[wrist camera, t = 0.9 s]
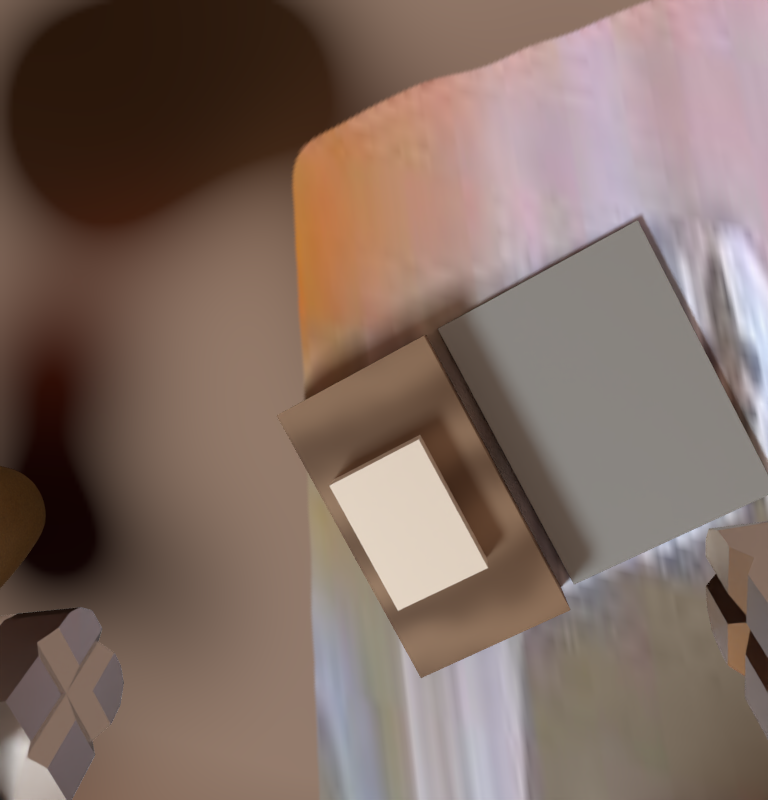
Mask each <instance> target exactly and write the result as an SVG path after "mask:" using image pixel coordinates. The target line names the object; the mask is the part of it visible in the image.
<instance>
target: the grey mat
mask: <svg viewBox="0 0 768 800" xmlns="http://www.w3.org/2000/svg"><path fill="white" fill-rule="evenodd" d="M438 330H439V332H440V334H441V336H442V338H443V340H444V342H445V343H446V345H447V347H448V349H449V351H450V353H451V355H452V357H453V358H454V360H455V362H456V364H457V366H458V368H459V370H460V372H461V373H462V375H463V377H464V379H465V381H466V383H467V385H468V387H469V388H470V390H471V392H472V394H473V396H474V398H475V400H476V402H477V403H478V405H479V407H480V409H481V411H482V413H483V415H484V417H485V418H486V420H487V422H488V424H489V426H490V428H491V430H492V432H493V433H494V435H495V437H496V439H497V441H498V443H499V445H500V447H501V448H502V450H503V452H504V454H505V456H506V458H507V460H508V462H509V463H510V465H511V467H512V469H513V471H514V473H515V475H516V477H517V478H518V480H519V482H520V484H521V486H522V488H523V490H524V492H525V493H526V495H527V497H528V499H529V501H530V503H531V505H532V507H533V508H534V510H535V512H536V514H537V516H538V518H539V520H540V522H541V523H542V525H543V527H544V529H545V531H546V533H547V535H548V537H549V538H550V540H551V542H552V544H553V546H554V548H555V550H556V552H557V553H558V555H559V557H560V559H561V561H562V563H563V565H564V567H565V569H566V570H567V572H568V574H569V576H570V578H571V580H572V582H573V584H576V583H578V582H581V581H583V580H585V579H587V578H589V577H591V576H594V575H596V574H598V573H600V572H602V571H604V570H607V569H609V568H611V567H613V566H615V565H617V564H620V563H622V562H624V561H626V560H628V559H630V558H633V557H635V556H637V555H639V554H641V553H643V552H646V551H648V550H650V549H652V548H654V547H656V546H659V545H661V544H663V543H665V542H667V541H669V540H672V539H674V538H676V537H678V536H680V535H682V534H685V533H687V532H689V531H691V530H693V529H695V528H698V527H700V526H702V525H704V524H706V523H708V522H711V521H713V520H715V519H717V518H719V517H721V516H724V515H726V514H728V513H730V512H732V511H734V510H736V509H739V508H741V507H743V506H745V505H747V504H749V503H752V502H754V501H756V500H758V499H760V498H762V497H765V496H767V495H768V474H767V472H766V470H765V468H764V466H763V464H762V462H761V460H760V458H759V456H758V454H757V452H756V450H755V448H754V446H753V444H752V442H751V440H750V438H749V436H748V435H747V433H746V431H745V429H744V427H743V425H742V423H741V421H740V419H739V417H738V415H737V413H736V411H735V409H734V407H733V405H732V403H731V401H730V399H729V397H728V396H727V394H726V392H725V390H724V388H723V386H722V384H721V382H720V380H719V378H718V376H717V374H716V372H715V370H714V368H713V366H712V364H711V362H710V360H709V358H708V356H707V355H706V353H705V351H704V349H703V347H702V345H701V343H700V341H699V339H698V337H697V335H696V333H695V331H694V329H693V327H692V325H691V323H690V321H689V319H688V317H687V315H686V314H685V312H684V310H683V308H682V306H681V304H680V302H679V300H678V298H677V296H676V294H675V292H674V290H673V288H672V286H671V284H670V282H669V280H668V278H667V276H666V275H665V273H664V271H663V269H662V267H661V265H660V263H659V261H658V259H657V257H656V255H655V253H654V251H653V249H652V247H651V245H650V243H649V241H648V239H647V237H646V235H645V234H644V232H643V230H642V228H641V226H640V224H639V222H638V220H637V221H635V222H634V223H632V224H630V225H628V226H626V227H624V228H623V229H621V230H619V231H617V232H615V233H613V234H611V235H610V236H608V237H606V238H604V239H602V240H600V241H599V242H597V243H595V244H593V245H591V246H589V247H588V248H586V249H584V250H582V251H580V252H578V253H576V254H575V255H573V256H571V257H569V258H567V259H565V260H564V261H562V262H560V263H558V264H556V265H554V266H553V267H551V268H549V269H547V270H545V271H543V272H541V273H540V274H538V275H536V276H534V277H532V278H530V279H529V280H527V281H525V282H523V283H521V284H519V285H518V286H516V287H514V288H512V289H510V290H508V291H506V292H505V293H503V294H501V295H499V296H497V297H495V298H494V299H492V300H490V301H488V302H486V303H484V304H483V305H481V306H479V307H477V308H475V309H473V310H471V311H470V312H468V313H466V314H464V315H462V316H460V317H459V318H457V319H455V320H453V321H451V322H449V323H448V324H446V325H444V326H442V327H440V328H438Z"/></svg>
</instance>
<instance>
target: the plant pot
mask: <svg viewBox="0 0 768 800" xmlns="http://www.w3.org/2000/svg"><path fill="white" fill-rule="evenodd" d="M45 518H46V512H45V505H44V501H43V498H42V496H41V494H40V492H39V490H38V489H37V487H36V485H35V484H34V483H33V482H32V481H31V480H30V479H29V478H28V477H26V476H25V475H23V474H22V473H20V472H18V471H16V470H14V469H9V468H6V467H2V466H0V588H1V587H2V586H3V584H5V582H6V581H7V580H8V579H9V578H10V577H11V575H12V574H13V573H14V572H15V570H16V569H17V568H18V567H19V565H20V564H21V563H22V562H23V560H24V559H25V558H26V556H27V555H28V553H29V552H30V550H31V549H32V548H33V546H34V545H35V543H36V541H37V540H38V538H39V537H40V535H41V533H42V531H43V528H44V525H45Z"/></svg>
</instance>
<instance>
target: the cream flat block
mask: <svg viewBox="0 0 768 800" xmlns="http://www.w3.org/2000/svg"><path fill="white" fill-rule="evenodd" d="M329 486H330V488H331V490H332V492H333V493H334V495H335V497H336V499H337V501H338V502H339V504H340V506H341V508H342V510H343V512H344V513H345V515H346V517H347V519H348V521H349V523H350V524H351V526H352V528H353V530H354V532H355V533H356V535H357V537H358V539H359V541H360V543H361V544H362V546H363V548H364V550H365V552H366V554H367V555H368V557H369V559H370V561H371V563H372V564H373V566H374V568H375V570H376V572H377V574H378V575H379V577H380V579H381V581H382V583H383V584H384V586H385V588H386V590H387V592H388V594H389V595H390V597H391V599H392V601H393V603H394V605H395V606H396V608H397V610H398V611H399V610H401V609H403V608H405V607H407V606H409V605H411V604H414V603H416V602H418V601H420V600H422V599H424V598H426V597H428V596H430V595H432V594H435V593H437V592H439V591H441V590H443V589H445V588H447V587H449V586H451V585H453V584H456V583H458V582H460V581H462V580H464V579H466V578H468V577H470V576H472V575H474V574H477V573H479V572H481V571H483V570H485V569H487V568H488V564H487V558H486V556H485V554H484V552H483V550H482V548H481V547H480V545H479V543H478V541H477V539H476V537H475V535H474V534H473V532H472V530H471V528H470V526H469V524H468V522H467V521H466V519H465V517H464V515H463V513H462V511H461V509H460V508H459V506H458V504H457V502H456V500H455V498H454V496H453V495H452V493H451V491H450V489H449V487H448V485H447V483H446V482H445V480H444V478H443V476H442V474H441V472H440V470H439V469H438V467H437V465H436V463H435V461H434V459H433V457H432V456H431V454H430V452H429V450H428V448H427V446H426V444H425V443H424V441H423V439H422V437H421V435H419V436H417V437H415V438H413V439H411V440H409V441H407V442H405V443H403V444H401V445H399V446H397V447H395V448H393V449H392V450H390V451H388V452H386V453H384V454H382V455H380V456H378V457H376V458H374V459H372V460H370V461H368V462H366V463H364V464H363V465H361V466H359V467H357V468H355V469H353V470H351V471H349V472H347V473H345V474H343V475H341V476H339V477H337V478H336V479H334V480H333V482H332V483H331V484H330V485H329Z"/></svg>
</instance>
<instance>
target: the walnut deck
mask: <svg viewBox="0 0 768 800" xmlns="http://www.w3.org/2000/svg"><path fill="white" fill-rule="evenodd" d="M277 417H278V419H279V421H280V422H281V424H282V426H283V428H284V430H285V432H286V433H287V435H288V437H289V439H290V440H291V442H292V444H293V446H294V448H295V450H296V451H297V453H298V455H299V457H300V459H301V460H302V462H303V464H304V466H305V468H306V470H307V472H308V473H309V475H310V477H311V479H312V481H313V482H314V484H315V486H316V488H317V490H318V492H319V493H320V495H321V497H322V499H323V501H324V502H325V504H326V506H327V508H328V510H329V512H330V513H331V515H332V517H333V519H334V521H335V522H336V524H337V526H338V528H339V530H340V532H341V533H342V535H343V537H344V539H345V541H346V542H347V544H348V546H349V548H350V550H351V552H352V553H353V555H354V557H355V559H356V561H357V563H358V564H359V566H360V568H361V570H362V572H363V573H364V575H365V577H366V579H367V581H368V583H369V584H370V586H371V588H372V590H373V592H374V593H375V595H376V597H377V599H378V601H379V603H380V604H381V606H382V608H383V610H384V612H385V613H386V615H387V617H388V619H389V621H390V623H391V624H392V626H393V628H394V630H395V632H396V633H397V635H398V637H399V639H400V641H401V643H402V644H403V646H404V648H405V650H406V652H407V653H408V655H409V657H410V659H411V661H412V663H413V664H414V666H415V668H416V670H417V672H418V673H419V675H420V677H421V678H422V677H424V676H427V675H429V674H431V673H433V672H435V671H438V670H440V669H442V668H444V667H446V666H449V665H451V664H453V663H455V662H457V661H460V660H462V659H464V658H466V657H468V656H471V655H473V654H475V653H477V652H479V651H481V650H484V649H486V648H488V647H490V646H492V645H495V644H497V643H499V642H501V641H503V640H506V639H508V638H510V637H512V636H514V635H517V634H519V633H521V632H523V631H525V630H528V629H530V628H532V627H534V626H536V625H539V624H541V623H543V622H545V621H547V620H549V619H552V618H554V617H556V616H558V615H560V614H563V613H565V612H567V611H569V610H570V608H569V605H568V603H567V601H566V598H565V596H564V594H563V591H562V589H561V587H560V585H559V583H558V581H557V579H556V577H555V575H554V574H553V572H552V570H551V568H550V566H549V564H548V562H547V560H546V559H545V557H544V555H543V553H542V551H541V549H540V547H539V546H538V544H537V542H536V540H535V538H534V536H533V534H532V532H531V531H530V529H529V527H528V525H527V523H526V521H525V519H524V517H523V516H522V514H521V512H520V510H519V508H518V506H517V504H516V502H515V501H514V499H513V497H512V495H511V493H510V491H509V489H508V487H507V486H506V484H505V482H504V480H503V478H502V476H501V474H500V473H499V471H498V469H497V467H496V465H495V463H494V461H493V459H492V458H491V456H490V454H489V452H488V450H487V448H486V446H485V444H484V443H483V441H482V439H481V437H480V435H479V433H478V431H477V429H476V428H475V426H474V424H473V422H472V420H471V418H470V416H469V414H468V413H467V411H466V409H465V407H464V405H463V403H462V401H461V400H460V398H459V396H458V394H457V392H456V390H455V388H454V386H453V385H452V383H451V381H450V379H449V377H448V375H447V373H446V371H445V370H444V368H443V366H442V364H441V362H440V360H439V358H438V356H437V355H436V353H435V351H434V349H433V347H432V345H431V343H430V341H429V340H428V338H427V336H426V335H425V336H422V337H420V338H419V339H417V340H415V341H413V342H411V343H409V344H408V345H406V346H404V347H402V348H400V349H398V350H396V351H395V352H393V353H391V354H389V355H387V356H385V357H384V358H382V359H380V360H378V361H376V362H374V363H373V364H371V365H369V366H367V367H365V368H363V369H361V370H360V371H358V372H356V373H354V374H352V375H350V376H349V377H347V378H345V379H343V380H341V381H339V382H338V383H336V384H334V385H332V386H330V387H328V388H327V389H325V390H323V391H321V392H319V393H317V394H315V395H314V396H312V397H310V398H308V399H306V400H304V401H303V402H301V403H299V404H297V405H295V406H294V407H292V408H290V409H288V410H286V411H284V412H282V413H280V414H279V415H277ZM419 435H421V437H422V439H423V441H424V443H425V444H426V446H427V448H428V450H429V452H430V454H431V456H432V457H433V459H434V461H435V463H436V465H437V467H438V469H439V470H440V472H441V474H442V476H443V478H444V480H445V482H446V483H447V485H448V487H449V489H450V491H451V493H452V495H453V496H454V498H455V500H456V502H457V504H458V506H459V508H460V509H461V511H462V513H463V515H464V517H465V519H466V521H467V522H468V524H469V526H470V528H471V530H472V532H473V534H474V535H475V537H476V539H477V541H478V543H479V545H480V547H481V548H482V550H483V552H484V554H485V556H486V558H487V564H488V568H487V569H485V570H483V571H481V572H479V573H477V574H474V575H472V576H470V577H468V578H466V579H464V580H462V581H460V582H458V583H456V584H453V585H451V586H449V587H447V588H445V589H443V590H441V591H439V592H437V593H435V594H432V595H430V596H428V597H426V598H424V599H422V600H420V601H418V602H416V603H414V604H411V605H409V606H407V607H405V608H403V609H401V610H399V611H398V610H397V608H396V606H395V605H394V603H393V601H392V599H391V597H390V595H389V594H388V592H387V590H386V588H385V586H384V584H383V583H382V581H381V579H380V577H379V575H378V574H377V572H376V570H375V568H374V566H373V564H372V563H371V561H370V559H369V557H368V555H367V554H366V552H365V550H364V548H363V546H362V544H361V543H360V541H359V539H358V537H357V535H356V533H355V532H354V530H353V528H352V526H351V524H350V523H349V521H348V519H347V517H346V515H345V513H344V512H343V510H342V508H341V506H340V504H339V502H338V501H337V499H336V497H335V495H334V493H333V492H332V490H331V488H330V486H329V485H330V484H331V483H332V482H333V480H334V479H336V478H337V477H339V476H341V475H343V474H345V473H347V472H349V471H351V470H353V469H355V468H357V467H359V466H361V465H363V464H364V463H366V462H368V461H370V460H372V459H374V458H376V457H378V456H380V455H382V454H384V453H386V452H388V451H390V450H392V449H393V448H395V447H397V446H399V445H401V444H403V443H405V442H407V441H409V440H411V439H413V438H415V437H417V436H419Z"/></svg>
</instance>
